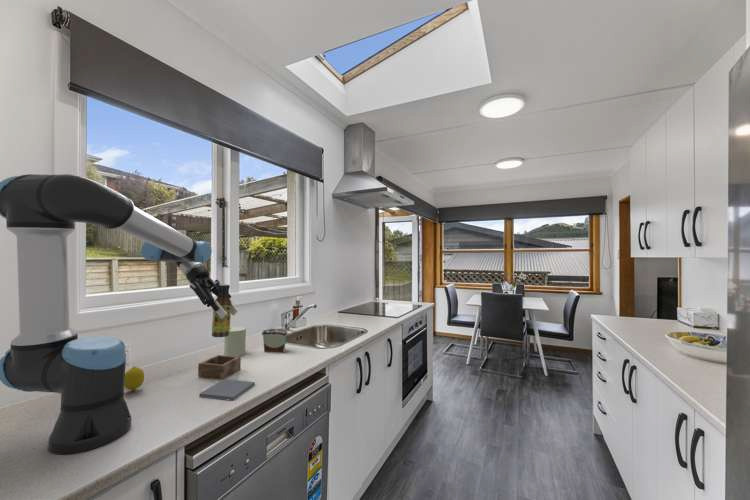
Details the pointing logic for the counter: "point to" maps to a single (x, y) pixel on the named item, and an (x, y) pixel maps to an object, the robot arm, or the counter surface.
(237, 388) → the rubber mat
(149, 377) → the counter surface
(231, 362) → the walnut sleeve
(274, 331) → the food container
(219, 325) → the sauce bottle
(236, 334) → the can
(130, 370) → the lemon
